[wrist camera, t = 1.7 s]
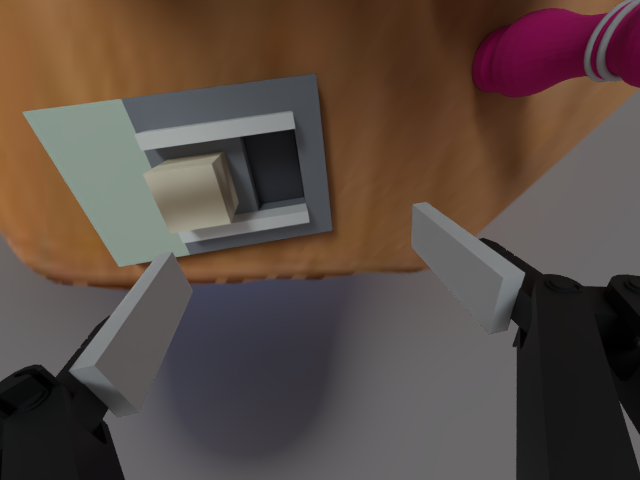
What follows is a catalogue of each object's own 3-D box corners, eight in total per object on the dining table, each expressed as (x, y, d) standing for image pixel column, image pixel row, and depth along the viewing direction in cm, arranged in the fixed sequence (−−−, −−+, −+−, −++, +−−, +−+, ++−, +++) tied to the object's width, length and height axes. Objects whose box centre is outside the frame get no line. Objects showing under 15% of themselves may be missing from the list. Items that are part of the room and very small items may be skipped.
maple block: (167, 159, 28) (142, 173, 23) (223, 151, 28) (211, 163, 23) (188, 210, 31) (170, 233, 26) (238, 202, 31) (230, 223, 26)
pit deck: (43, 110, 26) (-4, 113, 22) (313, 75, 28) (319, 71, 24) (128, 256, 35) (107, 278, 31) (329, 222, 37) (336, 239, 33)
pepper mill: (486, 110, 32) (723, 127, 15) (455, 65, 30) (705, 22, 12) (537, 57, 30) (880, 8, 13) (509, 3, 27) (904, -155, 10)
